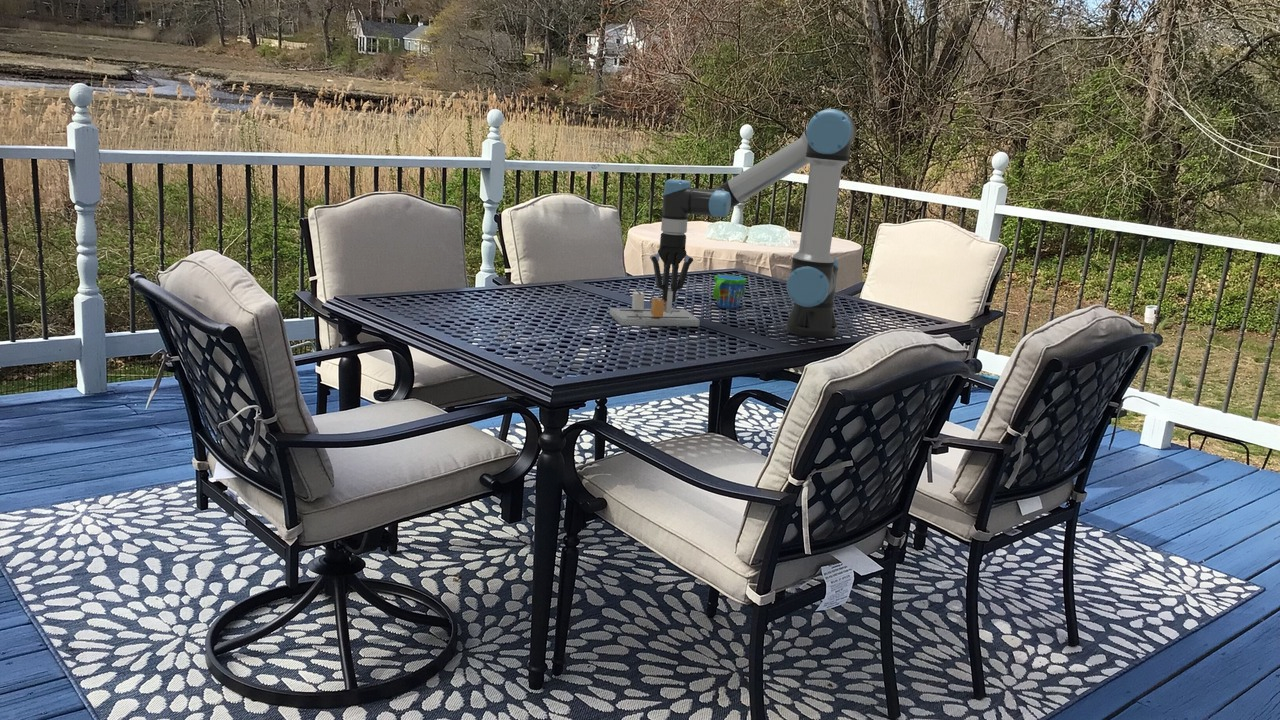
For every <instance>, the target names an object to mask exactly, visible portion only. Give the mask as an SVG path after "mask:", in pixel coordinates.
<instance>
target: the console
mask: <svg viewBox="0 0 1280 720" xmlns="http://www.w3.org/2000/svg"><path fill="white" fill-rule="evenodd" d="M609 316H611V317H612V318H613V319H614V320H615V322H617V323H618V324H619V325H620V326H627V327H628V326H629V325H630V326H631V327H632V326H638V327H639V326H642V327H643V326H646V327H647V326H648V327H660V326H661V327H700V323H701V321H700V319H699V318H698V317H696V316H695V315H693V314H692V313H691V312H690V311H688V310H686V309H685V308H684V309H683V308H682V309H680V308H679V309H678V308H676V309H675V308H672V310H671V313H666V312H665V311H664V310H663V317H654V316H652V315H651V308H644V309H643V310H634V309H633V308H632V307H631V308H623V307H622V308H621V307H620V308H619V307H615V308H614V307H610V308H609Z"/></svg>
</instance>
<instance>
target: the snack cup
mask: <svg viewBox="0 0 1280 720" xmlns="http://www.w3.org/2000/svg"><path fill="white" fill-rule="evenodd" d="M713 280H714V283H715V284H714V287H713V292H712V298H713V299H715V300H716V306H717V307H719V308H721V309H731V310H733V309H738V308H740V305H741V300H742V297H744V295H745V293H746V287H745V285H746V284H747V282H748V280H747V278H746V277H743V276H739V275H729V274H716V275H715V276H714V277H713Z"/></svg>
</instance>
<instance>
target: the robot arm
mask: <svg viewBox="0 0 1280 720" xmlns="http://www.w3.org/2000/svg"><path fill="white" fill-rule="evenodd" d="M856 131H857V129H856V125H855V122H854V120H853V118H852V117H851V116H850V114H848V113H846V112H844V111H842V110H839V109H835V108H830V109H829V108H825V109H823V110H821V111H818V112H817V113H816V114H814V115H813V117H811V119H810V120H809V123H808V124H807V128H806V130H804V131H803V133H802V136H801V137H799V138H798V139H796V140H794V141H792V142H791V143H790V144H788V145H786V146H784V147H782V148H781V149H779V150H777V151H776V152H774V153H772V154H770V155H769V156H768V157H766V158H764V159H763V160H761V161H758V163H756V164H754V165H752V166H750V167H749V168H747V169H745V170H744V171H742V172H741V173H739V174H737V175H736V176H734V177H732V178H730V179H729V180H727V181H726V182H724V183H722V184H720V185H718V186H717V187H714V188H711V189H708V188H707V189H706V188H703V189H702V188H695V187H692V185H691V182H690V181H689V180H686V179H685V180H684V179H669V178H668V179H667V180H666V181H665V182H664V187H663V188H664V191H663V194H662V213H661V214H662V215H661V227H660V231H661V233H660V239H659V249H658V250H657V253H655V254H654V255H652V254H651V255H650V256H649V258H650V260H651V263H652V265H653V272H654V277H655V282H656V287H657V288H659V289H661V291H662V294H661V298H662V299H663V300H664V311H665V312H666V313H671V310H672V309H673V302H675V301H676V297H677V291H678V290H682V289H683V287H684V285H685V284H684V283H685V280H686V279H687V278H686V277H687V275H688V271H689V269H690V266H691V264H692V263H694V258H693V257H691V256H689V255H688V254H687V250H686V247H687V234H686V233H687V231H688V219H689V218H688V217H689V215H697V216H706V217H714V218H726V217H728V215H729V213H730V211H731V209H732V208H734V207H736V206H737V205H739V204H741V203H743V202H744V201H746V200H747V199H750V198H751V197H753V196H754V195H756V194H758V193H759V192H760V193H761V192H762V191H763V190H765V189H766V188H768V187H770V186H772V185H773V184H775V183H776V182H779V181H780V180H782V179H784V178H786V177H787V176H789V175H791V174H792V173H795V172H796V171H798V170H799V169H801V168H803V167H805V166H807V165H809V172H808V173H809V174H808V180H807V188H806V195H805V203H804V210H803V217H802V218H803V220H802V224H801V225H802V226H801V234H800V240H799V241H800V242H799V248H798V251H797V252H796V253H795V254H793V256H792V261H791V269H790V274H789V275H788V277H787V280H786V292H787V294H788V297H789V298H790V299H791V300H792V302H794V303H793V307H792V309H791V311H790V314H789V316H788V318H787V321H786V323H785V331H786V332H788V333H789V334H792V335H795V336H796V335H797V336H800V337H809V338H819V339H820V338H821V339H823V338H824V339H825V338H833V337H836V336H837V332H838V325H837V321H836V316H835V312H834V305H835V296H836V287H837V277H838V272H839V260H838V259H837V258H834V257H832V256H831V246H832V240H833V233H834V226H835V219H836V218H835V217H836V211H837V204H838V196H839V189H840V182H841V175H842V169H843V167H845V165H847V164H848V163H849V160H850V159H849V157H850V152H851V150H850V149H851V145H852V143H853V142H854V140H855V137H856ZM660 259H661V261H662V263H663V271H662V273H661V268H660V263H659V262H660ZM682 260H683V264H682V267H681V270H680V273H679V267H680V263H681V262H682ZM670 269H671V272H670ZM670 273H671V278H670ZM661 274H663V276H662V275H661ZM670 281H671V282H670ZM669 283H670V284H669ZM669 286H670V289H669Z"/></svg>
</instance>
